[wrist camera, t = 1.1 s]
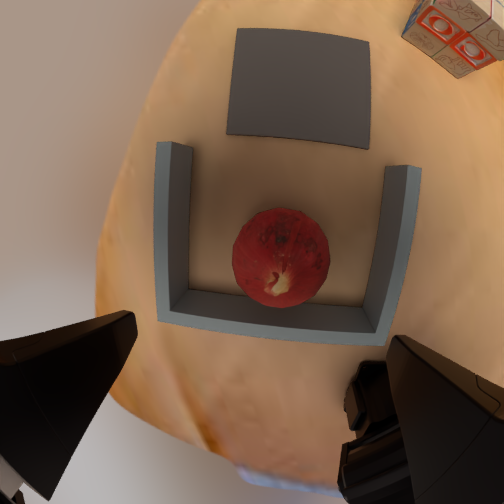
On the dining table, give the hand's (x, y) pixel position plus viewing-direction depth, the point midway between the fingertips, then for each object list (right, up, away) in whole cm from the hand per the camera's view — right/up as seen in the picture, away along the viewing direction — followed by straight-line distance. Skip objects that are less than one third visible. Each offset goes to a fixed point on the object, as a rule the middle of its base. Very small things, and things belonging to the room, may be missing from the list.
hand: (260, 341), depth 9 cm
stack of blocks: (+19, +28, +3) cm, 34 cm away
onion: (+2, +4, +11) cm, 12 cm away
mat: (+3, +15, +8) cm, 17 cm away
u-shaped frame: (+2, +4, +11) cm, 12 cm away
